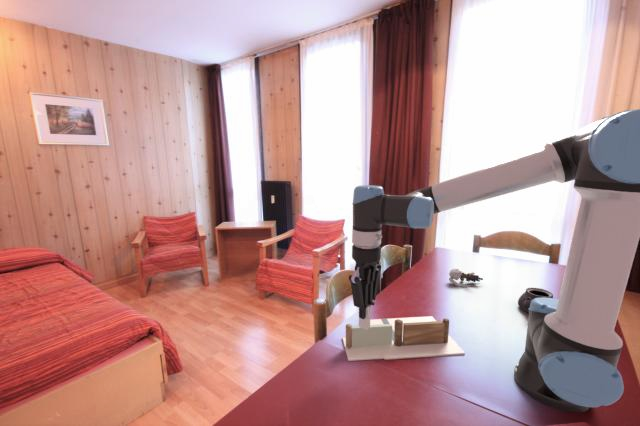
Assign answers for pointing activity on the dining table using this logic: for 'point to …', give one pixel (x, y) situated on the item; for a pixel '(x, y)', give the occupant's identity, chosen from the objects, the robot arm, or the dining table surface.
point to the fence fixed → (421, 332)
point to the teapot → (532, 297)
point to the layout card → (404, 350)
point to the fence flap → (368, 335)
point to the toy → (462, 277)
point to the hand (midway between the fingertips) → (364, 327)
